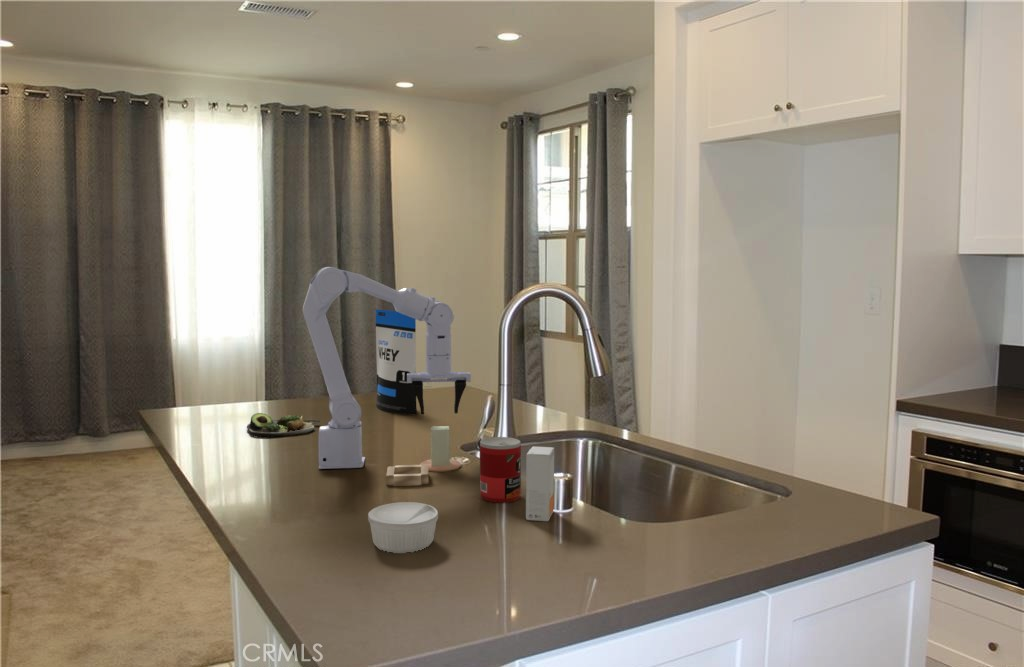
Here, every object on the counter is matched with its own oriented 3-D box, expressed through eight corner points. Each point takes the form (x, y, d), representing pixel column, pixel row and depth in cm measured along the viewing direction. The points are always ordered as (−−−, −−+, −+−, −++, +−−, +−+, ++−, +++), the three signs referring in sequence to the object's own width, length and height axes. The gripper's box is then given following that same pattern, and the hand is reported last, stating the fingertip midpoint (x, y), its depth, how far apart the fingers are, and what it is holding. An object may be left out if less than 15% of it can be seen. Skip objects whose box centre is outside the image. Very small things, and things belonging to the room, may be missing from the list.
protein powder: (390, 401, 255) (388, 308, 252) (430, 413, 236) (429, 312, 233) (363, 404, 249) (361, 309, 246) (402, 417, 230) (401, 314, 227)
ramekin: (444, 552, 124) (444, 519, 124) (373, 560, 121) (372, 526, 121) (431, 529, 135) (430, 499, 134) (365, 535, 132) (364, 505, 131)
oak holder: (386, 486, 160) (386, 476, 160) (388, 474, 168) (387, 465, 168) (428, 484, 161) (428, 475, 161) (428, 473, 169) (428, 464, 169)
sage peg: (431, 466, 173) (431, 430, 172) (431, 461, 177) (430, 426, 176) (449, 465, 174) (449, 429, 173) (449, 461, 177) (448, 426, 177)
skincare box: (549, 522, 138) (549, 455, 137) (525, 520, 139) (525, 453, 138) (554, 511, 144) (554, 446, 143) (531, 509, 145) (531, 445, 144)
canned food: (512, 505, 148) (512, 447, 147) (473, 500, 151) (473, 443, 150) (526, 493, 155) (526, 438, 154) (488, 489, 158) (488, 435, 157)
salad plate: (314, 421, 226) (314, 405, 225) (329, 433, 210) (328, 416, 209) (243, 427, 217) (242, 411, 217) (253, 441, 201) (252, 423, 201)
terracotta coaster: (420, 472, 170) (419, 469, 170) (420, 461, 179) (420, 459, 179) (461, 471, 171) (461, 468, 171) (459, 460, 180) (459, 457, 180)
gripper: (406, 357, 176) (407, 417, 177) (471, 356, 178) (471, 415, 179) (407, 353, 183) (407, 411, 184) (469, 352, 185) (469, 409, 186)
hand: (439, 413), depth 182 cm, fingers open, 7 cm apart
